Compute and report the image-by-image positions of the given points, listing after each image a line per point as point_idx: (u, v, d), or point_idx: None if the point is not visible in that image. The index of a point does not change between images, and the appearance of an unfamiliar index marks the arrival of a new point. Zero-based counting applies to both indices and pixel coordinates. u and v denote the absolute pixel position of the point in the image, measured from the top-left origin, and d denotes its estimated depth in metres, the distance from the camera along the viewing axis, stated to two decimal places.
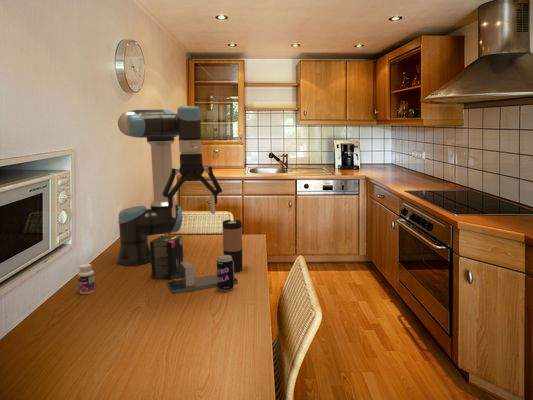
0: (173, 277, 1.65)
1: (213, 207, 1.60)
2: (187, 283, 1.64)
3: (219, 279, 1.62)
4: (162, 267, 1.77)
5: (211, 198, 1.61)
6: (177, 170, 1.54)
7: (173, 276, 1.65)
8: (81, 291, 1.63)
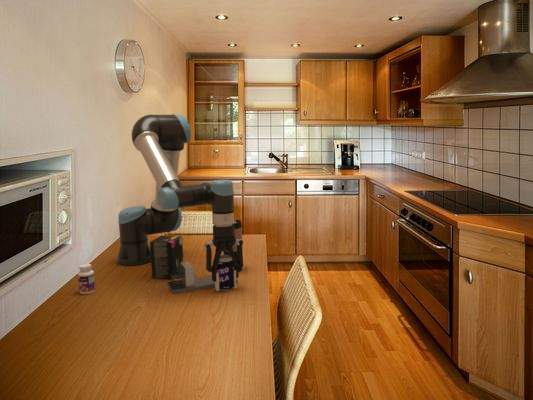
0: (173, 277, 1.65)
1: (235, 281, 1.65)
2: (187, 283, 1.64)
3: (219, 279, 1.62)
4: (162, 267, 1.77)
5: (233, 273, 1.65)
6: (211, 244, 1.60)
7: (173, 276, 1.65)
8: (81, 291, 1.63)
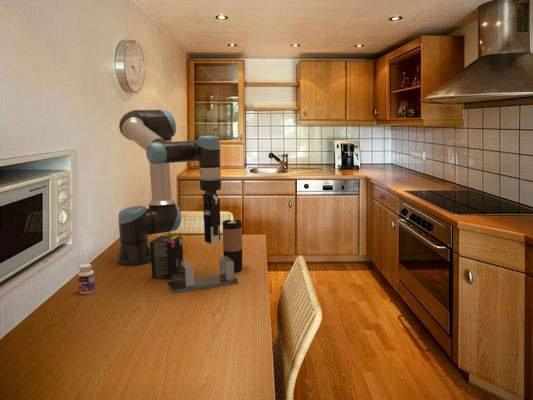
0: (173, 277, 1.65)
1: None
2: (187, 283, 1.64)
3: None
4: (162, 267, 1.77)
5: None
6: (205, 194, 1.72)
7: (173, 276, 1.65)
8: (81, 291, 1.63)
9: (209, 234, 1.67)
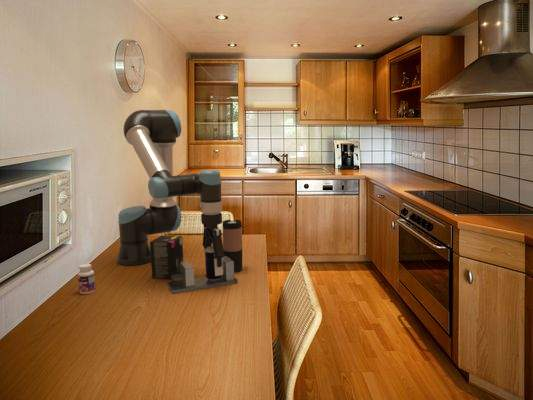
0: (173, 277, 1.65)
1: (215, 269, 1.66)
2: (187, 283, 1.64)
3: None
4: (162, 267, 1.77)
5: None
6: None
7: (173, 276, 1.65)
8: (81, 291, 1.63)
9: (210, 271, 1.69)
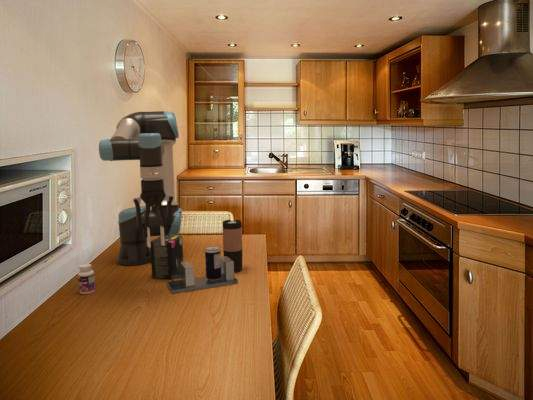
0: (173, 277, 1.65)
1: (163, 239, 1.62)
2: (187, 283, 1.64)
3: None
4: (162, 267, 1.77)
5: (161, 230, 1.62)
6: (139, 198, 1.57)
7: (173, 276, 1.65)
8: (81, 291, 1.63)
9: (210, 271, 1.69)
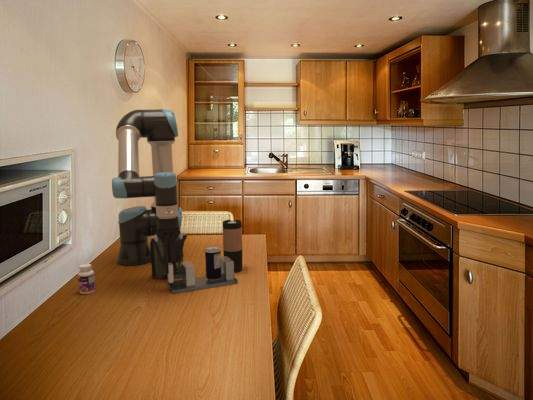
0: (174, 277, 1.66)
1: (172, 276, 1.65)
2: (188, 283, 1.65)
3: None
4: (162, 267, 1.77)
5: None
6: (155, 237, 1.61)
7: (174, 276, 1.65)
8: (81, 291, 1.63)
9: (210, 271, 1.69)
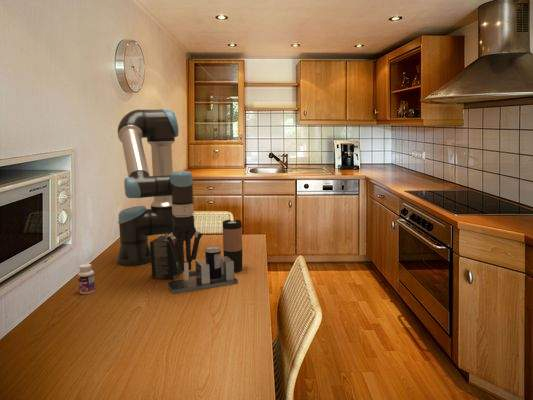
0: (189, 275, 1.68)
1: (187, 274, 1.67)
2: (203, 281, 1.67)
3: None
4: (162, 267, 1.77)
5: None
6: (171, 235, 1.63)
7: (189, 274, 1.68)
8: (81, 291, 1.63)
9: (211, 271, 1.69)
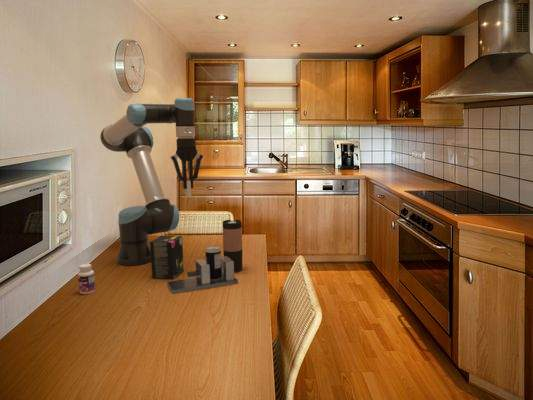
0: (189, 275, 1.68)
1: (189, 191, 1.87)
2: (203, 281, 1.67)
3: None
4: (162, 267, 1.77)
5: None
6: (175, 155, 1.83)
7: (189, 274, 1.68)
8: (81, 291, 1.63)
9: (211, 271, 1.70)
